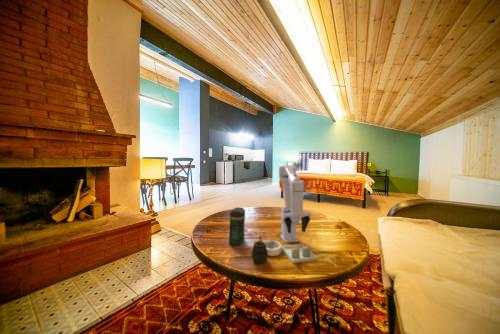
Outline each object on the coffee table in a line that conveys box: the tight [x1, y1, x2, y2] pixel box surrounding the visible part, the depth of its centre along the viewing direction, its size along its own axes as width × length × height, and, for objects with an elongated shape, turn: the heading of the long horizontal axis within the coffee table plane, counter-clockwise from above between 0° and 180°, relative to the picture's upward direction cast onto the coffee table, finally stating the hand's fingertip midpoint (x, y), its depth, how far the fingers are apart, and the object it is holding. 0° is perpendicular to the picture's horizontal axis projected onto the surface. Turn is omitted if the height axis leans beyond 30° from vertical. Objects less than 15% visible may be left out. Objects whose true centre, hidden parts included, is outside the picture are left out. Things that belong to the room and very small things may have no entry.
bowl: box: [263, 239, 283, 257], centre depth 94 cm, size 10×10×3 cm
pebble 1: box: [292, 247, 300, 259], centre depth 86 cm, size 4×4×4 cm
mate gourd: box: [251, 235, 269, 264], centre depth 84 cm, size 7×8×10 cm
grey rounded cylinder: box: [267, 239, 276, 249], centre depth 93 cm, size 4×4×4 cm
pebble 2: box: [302, 245, 312, 258], centre depth 88 cm, size 4×4×4 cm
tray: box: [282, 243, 318, 264], centre depth 90 cm, size 13×12×2 cm
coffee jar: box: [228, 207, 246, 246], centre depth 102 cm, size 10×8×19 cm
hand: (296, 231), depth 93 cm, fingers open, 7 cm apart
